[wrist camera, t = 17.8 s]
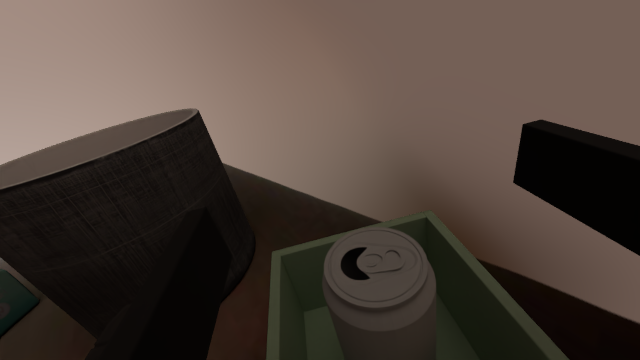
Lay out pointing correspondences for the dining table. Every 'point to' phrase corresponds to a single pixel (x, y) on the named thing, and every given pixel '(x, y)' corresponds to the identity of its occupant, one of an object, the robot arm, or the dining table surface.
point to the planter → (114, 211)
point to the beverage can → (381, 296)
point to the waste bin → (451, 303)
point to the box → (13, 301)
